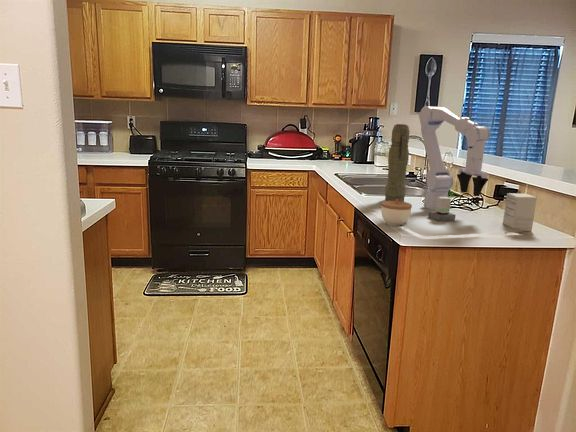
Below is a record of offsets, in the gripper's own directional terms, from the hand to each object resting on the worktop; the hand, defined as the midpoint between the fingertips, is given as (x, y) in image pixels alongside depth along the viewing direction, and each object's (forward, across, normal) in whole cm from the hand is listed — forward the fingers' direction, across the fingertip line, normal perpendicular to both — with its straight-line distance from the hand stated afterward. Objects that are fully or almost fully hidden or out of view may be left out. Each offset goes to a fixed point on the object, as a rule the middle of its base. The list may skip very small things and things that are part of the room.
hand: (469, 194), depth 170 cm
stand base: (+10, +1, -12) cm, 16 cm away
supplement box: (+11, +14, +11) cm, 21 cm away
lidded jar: (+11, +2, -32) cm, 34 cm away
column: (+6, +1, -12) cm, 14 cm away
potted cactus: (+11, -38, -11) cm, 41 cm away
